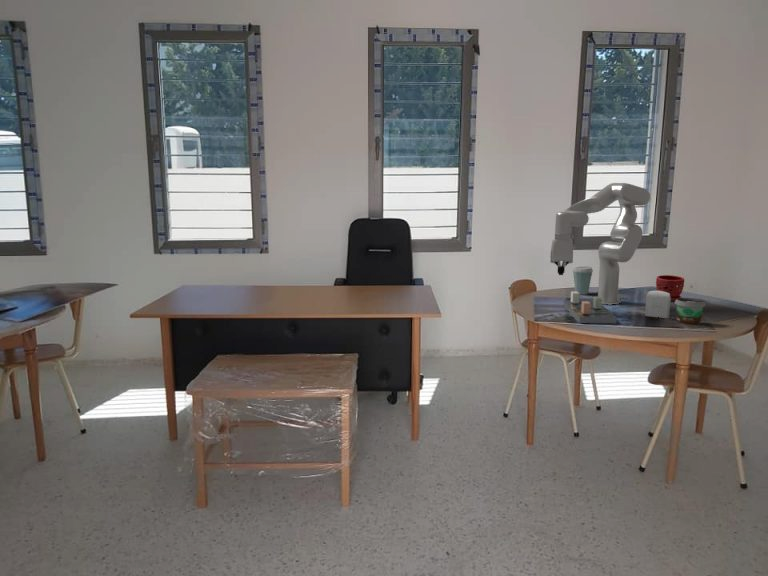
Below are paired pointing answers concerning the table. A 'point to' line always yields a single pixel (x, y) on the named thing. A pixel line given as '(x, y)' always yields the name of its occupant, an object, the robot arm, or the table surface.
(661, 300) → the photo printer
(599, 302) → the slider sage
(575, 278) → the disposable coffee cup
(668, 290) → the plant pot
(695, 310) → the food container
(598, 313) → the grey slotted slider board
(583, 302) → the slider terracotta
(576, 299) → the slider ivory
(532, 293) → the table surface
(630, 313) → the table surface
